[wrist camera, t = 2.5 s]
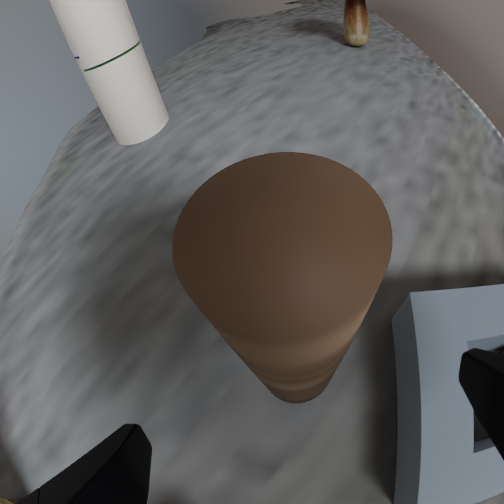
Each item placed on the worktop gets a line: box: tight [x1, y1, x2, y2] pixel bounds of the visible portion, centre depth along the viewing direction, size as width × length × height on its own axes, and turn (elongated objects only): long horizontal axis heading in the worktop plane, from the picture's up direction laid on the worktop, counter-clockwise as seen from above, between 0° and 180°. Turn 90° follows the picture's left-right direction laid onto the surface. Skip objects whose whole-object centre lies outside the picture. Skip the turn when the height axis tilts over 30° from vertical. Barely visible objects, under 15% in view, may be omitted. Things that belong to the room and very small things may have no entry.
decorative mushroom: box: [343, 0, 369, 47], centre depth 34 cm, size 11×11×15 cm
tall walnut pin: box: [172, 152, 392, 403], centre depth 11 cm, size 4×4×14 cm
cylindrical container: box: [49, 0, 169, 145], centre depth 24 cm, size 7×7×25 cm
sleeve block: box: [391, 284, 504, 504], centre depth 12 cm, size 12×12×4 cm
